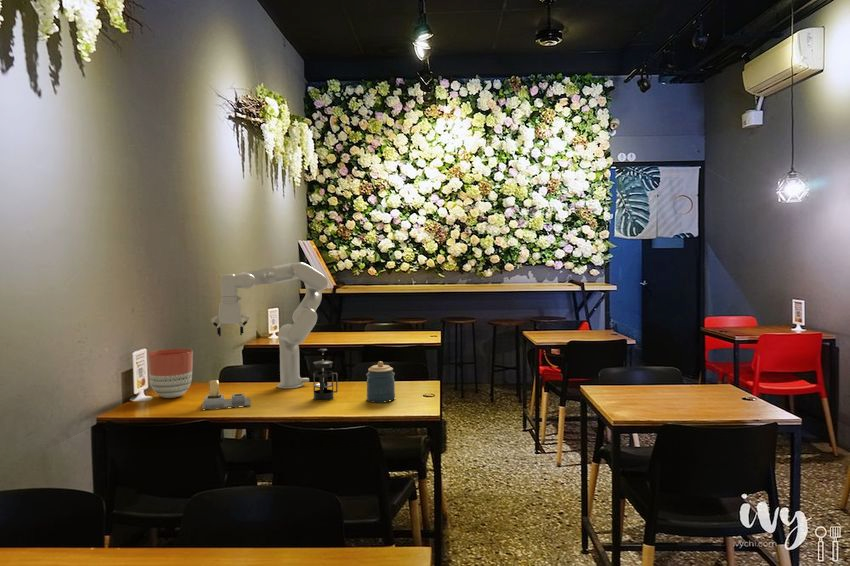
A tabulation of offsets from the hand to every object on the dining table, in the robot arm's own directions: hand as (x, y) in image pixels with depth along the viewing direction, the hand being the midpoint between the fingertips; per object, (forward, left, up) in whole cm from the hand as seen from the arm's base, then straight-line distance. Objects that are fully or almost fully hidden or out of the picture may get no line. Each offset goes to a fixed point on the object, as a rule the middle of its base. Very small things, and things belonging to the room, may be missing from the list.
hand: (230, 335), depth 277 cm
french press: (-41, +24, -28) cm, 55 cm away
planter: (+27, -4, -28) cm, 39 cm away
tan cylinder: (+7, +21, -27) cm, 35 cm away
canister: (-65, +35, -28) cm, 79 cm away
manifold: (+2, +21, -28) cm, 35 cm away
